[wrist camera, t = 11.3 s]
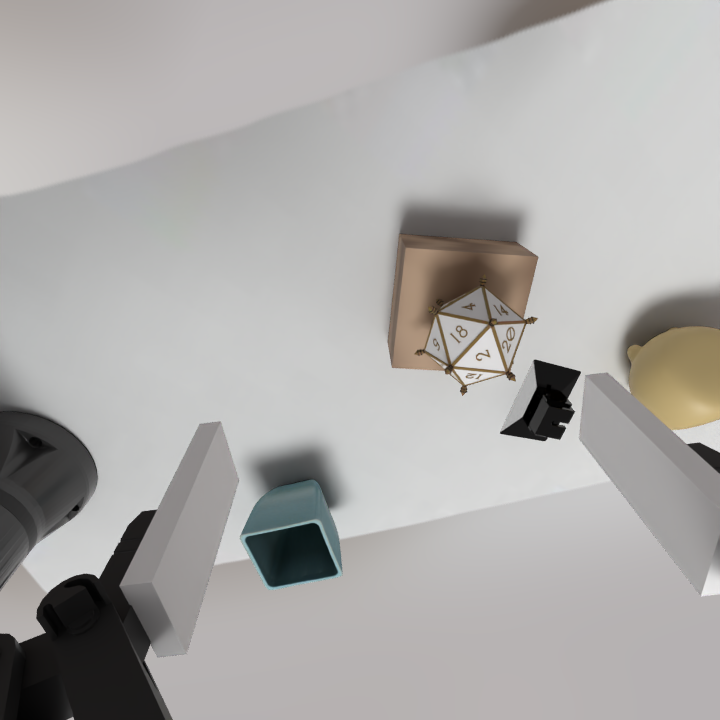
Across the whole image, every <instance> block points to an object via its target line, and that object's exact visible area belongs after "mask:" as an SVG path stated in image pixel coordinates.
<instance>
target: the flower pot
mask: <svg viewBox="0 0 720 720" xmlns="http://www.w3.org/2000/svg"><path fill="white" fill-rule="evenodd" d="M240 540H241V543H242V544H243V546H244V548H245V549H246V551H247V553H248V555H249V557H250V559H251V560H252V562H253V564H254V566H255V568H256V570H257V572H258V574H259V576H260V578H261V580H262V582H263V584H264V586H265V587H266V588H267V589H268V590H275V589H281V588H286V587H290V586H294V585H300V584H305V583H311V582H316V581H322V580H327V579H333V578H337V577H339V576H342V574H343V573H342V564H341V552H340V543H339V536H338V532H337V529H336V526H335V523H334V521H333V518H332V516H331V513H330V511H329V508H328V506H327V503H326V501H325V498H324V496H323V493H322V490H321V488H320V486H319V484H318V483H317V482H316V481H315V480H313V479H311V480H306V481H302V482H298V483H294V484H289V485H284V486H280V487H277V488H275V489H273V490H271V491H269V492H268V493H266V494H265V495H264V496H263V497H262V498H261V499H260V500H259V501H258V502H257V503H256V505H255V506H254V508H253V510H252V512H251V514H250V516H249V518H248V520H247V522H246V525H245V527H244V529H243V531H242V533H241V535H240Z"/></svg>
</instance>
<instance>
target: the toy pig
mask: <svg viewBox="0 0 720 720" xmlns="http://www.w3.org/2000/svg"><path fill="white" fill-rule="evenodd" d="M627 355H628V357H629V359H630V361H631V364H632V365H631V369H630V374H629V387H630V391H631V394H632V395H633V396H634V397H635V398H636V399H637V400H638V401H639V402H640V403H642V404H643V405H644V406H645V407H646V408H647V409H648V410H649V411H650V412H651V413H653V414H654V415H655V416H656V417H657V418H658V419H659V420H660V421H661V422H663V423H664V424H665V425H666V426H667V427H668V428H669V429H670V430H680V429H687V428H692V427H696V426H700V425H703V424H707V423H710V422H713V421H716V420H719V419H720V330H719V329H716V328H711V327H702V326H690V327H682V328H677V327H673V328H671V329H669V330H668V331H666V332H664V333H662V334H659V335H658V336H656V337H654V338H653V339H651V340H650V341H649V342H647V343H646V344H645V345H644V346H643V347H641V346H639V345H632V346H630V347H629V348H628V350H627Z"/></svg>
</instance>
